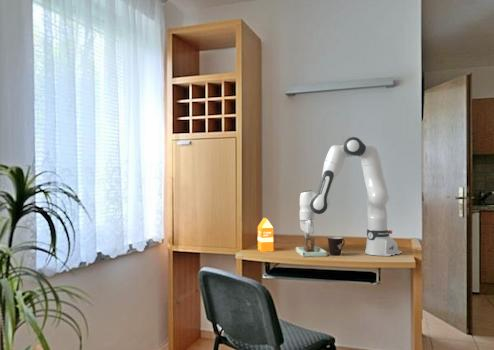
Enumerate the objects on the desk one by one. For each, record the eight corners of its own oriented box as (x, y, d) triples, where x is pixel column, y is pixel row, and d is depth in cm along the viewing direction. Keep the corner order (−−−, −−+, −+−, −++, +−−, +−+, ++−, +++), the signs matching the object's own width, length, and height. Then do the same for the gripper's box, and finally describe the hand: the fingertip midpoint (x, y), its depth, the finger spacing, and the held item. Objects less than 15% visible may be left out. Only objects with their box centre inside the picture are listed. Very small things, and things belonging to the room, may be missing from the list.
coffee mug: (331, 256, 242) (331, 239, 242) (325, 253, 251) (325, 236, 251) (350, 255, 244) (350, 238, 244) (343, 253, 253) (343, 236, 253)
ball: (309, 248, 257) (308, 244, 256) (312, 250, 255) (312, 246, 254) (306, 250, 256) (305, 246, 255) (309, 252, 253) (308, 247, 253)
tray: (318, 250, 261) (318, 246, 261) (327, 256, 243) (327, 252, 243) (295, 251, 260) (295, 247, 260) (303, 256, 241) (303, 252, 241)
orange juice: (261, 252, 257) (261, 219, 257) (257, 249, 266) (257, 217, 266) (273, 251, 259) (273, 218, 259) (269, 249, 268) (269, 217, 268)
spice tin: (312, 250, 258) (312, 237, 258) (314, 252, 253) (314, 238, 253) (304, 250, 258) (304, 237, 258) (306, 252, 253) (306, 238, 253)
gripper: (316, 218, 251) (316, 241, 251) (307, 215, 272) (308, 236, 272) (305, 218, 251) (305, 242, 251) (298, 215, 271) (298, 237, 271)
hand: (306, 239), depth 261 cm, fingers closed
